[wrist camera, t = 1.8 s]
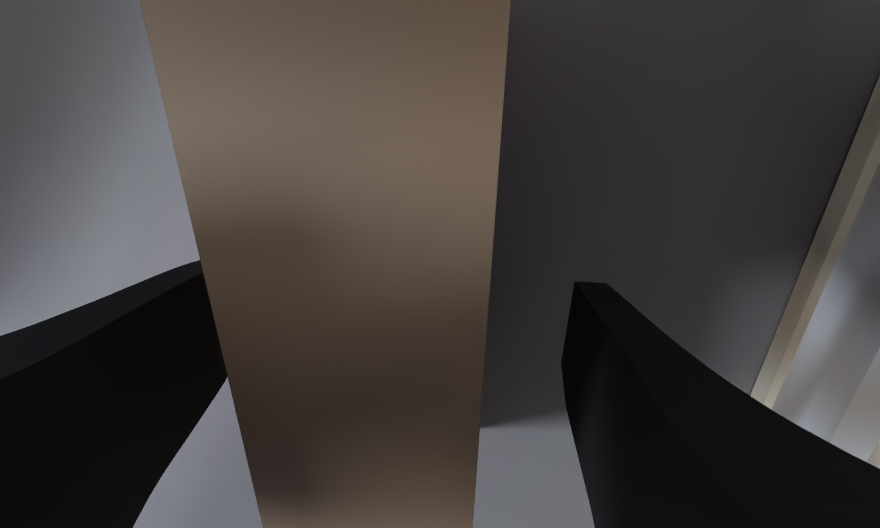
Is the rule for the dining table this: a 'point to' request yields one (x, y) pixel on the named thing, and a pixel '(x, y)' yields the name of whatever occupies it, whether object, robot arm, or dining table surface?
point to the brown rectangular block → (344, 239)
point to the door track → (836, 314)
